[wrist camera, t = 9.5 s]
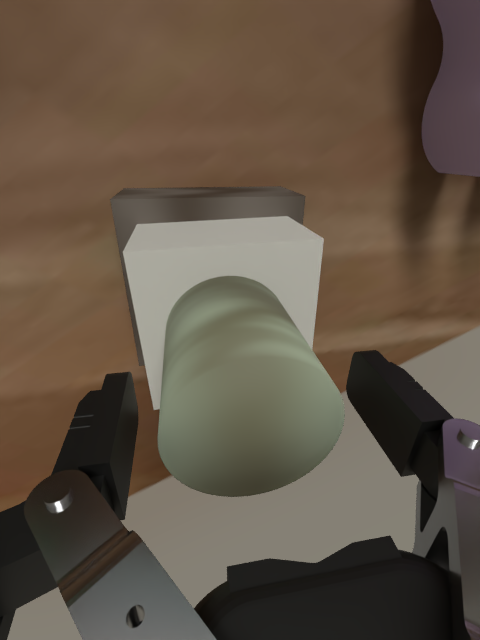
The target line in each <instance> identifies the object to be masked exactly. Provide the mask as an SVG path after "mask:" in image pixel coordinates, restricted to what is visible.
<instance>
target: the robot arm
mask: <svg viewBox="0 0 480 640" xmlns="http://www.w3.org/2000/svg"><path fill="white" fill-rule="evenodd" d="M346 390H347V395H348V398H349V400H350V402H351V403H352V405H353V406H354V408H355V409H356V411H357V412H358V414H359V415H360V417H361V418H362V420H363V421H364V423H365V424H366V426H367V427H368V428H369V430H370V431H371V433H372V434H373V436H374V437H375V439H376V440H377V442H378V443H379V445H380V446H381V448H382V449H383V451H384V452H385V454H386V455H387V457H388V458H389V459H390V461H391V462H392V464H393V465H394V467H395V468H396V470H397V471H398V473H399V474H400V476H401V477H402V476H408V475H415V474H416V475H417V477H418V478H419V482H418V485H417V498H416V499H417V500H416V525H415V543H414V548H413V552H412V553H410V552H406V551H402V550H398V549H397V547H396V545H395V543H394V542H393V540H392V538H391V536H386V537H380V538H375V539H369V540H365V541H359V542H354V543H351V544H349V545H348V546H346V547H344V548H343V549H341V550H339V551H337V552H336V553H334V554H332V555H330V556H329V557H327V558H325V559H323V560H322V561H320V562H318V563H306V562H297V561H288V560H279V559H264V560H259V561H254V562H249V563H243V564H239V565H233V566H228V567H227V581H226V582H225V583H223V584H221V585H219V586H218V587H217V588H215V589H214V590H212V591H211V592H210V593H208V594H207V595H206V596H205V597H204V598H203V599H202V600H201V601H200V602H199V603H198V604H197V606H196V607H195V608H194V609H193V607H192V606H191V605H190V604H189V602H188V601H187V599H186V598H185V597H184V595H183V594H182V593H181V591H180V590H179V589H178V587H177V586H176V585H175V583H174V582H173V580H172V579H171V578H170V576H169V575H168V574H167V572H166V571H165V570H164V568H163V567H162V566H161V565H160V563H159V562H158V560H157V559H156V558H155V556H154V555H153V554H152V552H151V551H150V550H149V548H148V547H147V546H146V544H145V543H144V542H143V540H142V539H141V538H140V537H139V536H138V534H137V533H135V532H134V531H133V530H132V531H130V532H129V531H128V530H127V529H126V528H125V527H124V525H123V524H122V522H121V521H120V520H124V519H125V514H126V506H127V499H128V492H129V485H130V478H131V471H132V464H133V457H134V450H135V442H136V435H137V428H138V406H137V401H136V395H135V390H134V384H133V379H132V374H131V372H123V373H112V374H107V375H106V376H105V379H104V383H103V386H102V389H101V390H96V391H90V392H89V393H88V394H87V395H86V396H85V397H84V398H83V399H82V400H81V401H80V402H79V404H78V407H77V409H76V412H75V414H74V419H73V420H72V422H71V425H70V430H68V433H67V435H66V438H65V441H64V443H63V446H62V448H61V451H60V454H59V456H58V459H57V462H56V464H55V467H54V469H53V472H52V474H51V476H49V477H47V478H46V479H44V480H43V481H41V482H40V483H39V484H38V485H37V486H36V487H35V488H34V489H33V490H32V492H31V493H30V494H29V496H28V498H27V500H26V501H24V502H22V503H21V504H19V505H16V506H14V507H12V508H9V509H7V510H5V511H2V512H0V640H7V637H8V634H9V631H10V627H11V624H12V621H13V617H14V614H15V610H16V609H17V608H19V607H21V606H23V605H24V604H26V603H28V602H30V601H32V600H34V599H36V598H38V597H40V596H41V595H43V594H45V593H47V592H49V591H51V590H53V589H55V588H56V587H59V589H60V593H61V595H62V597H63V599H64V601H65V603H66V605H67V607H68V609H69V611H70V614H71V616H72V618H73V620H74V622H75V624H76V626H77V629H78V631H79V633H80V635H81V637H82V639H83V640H480V425H478V424H476V423H473V422H471V421H468V420H464V419H454V418H453V417H452V416H451V415H450V414H449V413H448V412H447V411H446V410H445V409H444V408H443V407H442V406H441V405H440V404H439V403H438V402H437V401H436V400H435V399H434V398H433V397H432V396H431V395H430V394H429V393H428V392H427V391H426V390H423V387H422V386H420V384H419V383H418V382H415V380H414V379H413V377H412V376H410V375H409V374H408V373H407V372H406V371H405V370H404V369H402V368H401V367H399V366H397V365H395V364H394V363H392V362H388V361H387V360H386V359H385V358H384V357H383V356H382V355H381V354H380V353H379V352H378V351H376V350H371V351H360V352H355V353H354V354H353V357H352V361H351V366H350V370H349V375H348V380H347V385H346Z"/></svg>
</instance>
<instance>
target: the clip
mask: <svg viewBox="0 0 480 640" xmlns="http://www.w3.org/2000/svg"><path fill="white" fill-rule="evenodd" d="M431 3H432V6H433V9H434V11H435V14H436V16H437V18H438V21H439V23H440V26H441V30H442V35H443V56H442V61H441V66H440V69H439V72H438V75H437V78H436V80H435V82H434V84H433V86H432V88H431V91H430V93H429V96H428V99H427V102H426V105H425V109H424V114H423V120H422V142H423V147H424V151H425V154H426V157H427V159H428V161H429V162H430V164H431V165H432V167H433V168H434V169H435V170H436V171H437V172H439V173H448V174H457V175H467V176H477V177H480V0H431Z"/></svg>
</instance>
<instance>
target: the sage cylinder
mask: <svg viewBox="0 0 480 640" xmlns="http://www.w3.org/2000/svg"><path fill="white" fill-rule="evenodd" d="M344 416H345V414H344V404H343V399H342V397H341V394H340V392H339V390H338V388H337V387H336V385H335V384H334V382H333V381H332V379H331V378H330V376H329V375H328V373H327V372H326V370H325V369H324V367H323V366H322V364H321V363H320V361H319V360H318V358H317V357H316V355H315V354H314V352H313V351H312V349H311V348H310V346H309V345H308V343H307V342H306V340H305V339H304V337H303V336H302V334H301V333H300V331H299V330H298V328H297V327H296V325H295V324H294V322H293V320H292V319H291V317H290V316H289V314H288V313H287V311H286V310H285V308H284V307H283V305H282V304H281V302H280V301H279V299H278V298H277V296H276V295H275V294H274V293H273V292H272V291H271V290H270V289H269V288H267V287H266V286H264V285H263V284H261V283H260V282H257V281H255V280H253V279H249V278H246V277H240V276H220V277H215V278H211V279H208V280H205V281H203V282H201V283H199V284H197V285H195V286H193V287H192V288H190V289H189V290H188V291H186V292H185V293H184V294H183V295H182V296H181V297H180V298H179V299H178V301H177V302H176V303H175V305H174V306H173V308H172V310H171V312H170V314H169V316H168V320H167V323H166V332H165V345H164V359H163V373H162V386H161V400H160V414H159V427H158V449H159V453H160V457H161V459H162V461H163V463H164V465H165V467H166V468H167V469H168V471H169V472H170V473H171V474H172V475H173V476H174V477H175V478H176V479H177V480H179V481H180V482H181V483H183V484H185V485H186V486H188V487H190V488H192V489H195V490H197V491H200V492H203V493H207V494H211V495H218V496H228V497H237V496H250V495H256V494H261V493H265V492H269V491H272V490H275V489H278V488H281V487H283V486H286V485H288V484H290V483H292V482H294V481H296V480H298V479H299V478H301V477H303V476H304V475H306V474H307V473H309V472H310V471H311V470H313V469H314V468H315V467H316V466H317V465H319V464H320V463H321V461H323V460H324V459H325V458H326V456H327V455H328V454H329V453H330V451H331V450H332V449H333V447H334V446H335V444H336V442H337V440H338V438H339V436H340V434H341V431H342V427H343V424H344Z"/></svg>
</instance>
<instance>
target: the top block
mask: <svg viewBox="0 0 480 640" xmlns="http://www.w3.org/2000/svg"><path fill="white" fill-rule="evenodd" d="M323 241H324V239H323V238H322V237H320V236H319V235H317V234H315V233H314V232H312V231H311V230H309V229H307V228H306V227H304V226H303V225H301V224H299V223H298V222H296V221H295V220H293V219H291V218H290V217H288V216H279V217H261V218H242V219H224V220H206V221H187V222H169V223H151V224H137V225H136V227H135V229H134V231H133V233H132V235H131V237H130V239H129V241H128V243H127V245H126V247H125V249H124V251H123V256H124V261H125V266H126V271H127V276H128V281H129V286H130V291H131V296H132V301H133V306H134V311H135V317H136V322H137V327H138V332H139V337H140V342H141V347H142V352H143V357H144V362H145V367H146V372H147V377H148V382H149V387H150V393H151V398H152V403H153V408H154V410H157V409H160V400H161V386H162V373H163V359H164V345H165V332H166V323H167V320H168V316H169V314H170V312H171V310H172V308H173V306H174V305H175V303H176V302H177V301H178V299H179V298H180V297H181V296H182V295H183V294H184V293H185V292H186V291H188V290H189V289H190V288H192V287H193V286H195V285H197V284H199V283H201V282H203V281H205V280H208V279H211V278H215V277H220V276H240V277H246V278H249V279H253V280H255V281H257V282H260V283H261V284H263V285H264V286H266V287H267V288H269V289H270V290H271V291H272V292H273V293H274V294H275V295H276V296H277V298H278V299H279V301H280V302H281V304H282V305H283V307H284V308H285V310H286V311H287V313H288V314H289V316H290V317H291V319H292V320H293V322H294V324H295V325H296V327H297V328H298V330H299V331H300V333H301V334H302V336H303V337H304V339H305V340H306V342H307V343H308V345H309V346H310V348H311V349H312V346H313V336H314V327H315V317H316V308H317V298H318V289H319V279H320V270H321V260H322V251H323Z"/></svg>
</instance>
